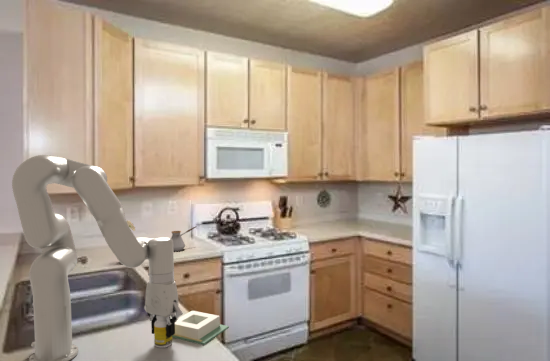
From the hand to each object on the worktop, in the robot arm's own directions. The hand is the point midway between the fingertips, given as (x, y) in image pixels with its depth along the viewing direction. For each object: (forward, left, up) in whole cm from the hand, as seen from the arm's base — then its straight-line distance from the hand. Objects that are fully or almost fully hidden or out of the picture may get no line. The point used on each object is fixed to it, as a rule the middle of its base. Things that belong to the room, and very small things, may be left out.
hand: (163, 333), depth 120 cm
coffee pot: (-89, +115, -4) cm, 145 cm away
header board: (+3, +12, -3) cm, 13 cm away
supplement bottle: (0, 0, -4) cm, 4 cm away
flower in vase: (-96, +74, -4) cm, 121 cm away
